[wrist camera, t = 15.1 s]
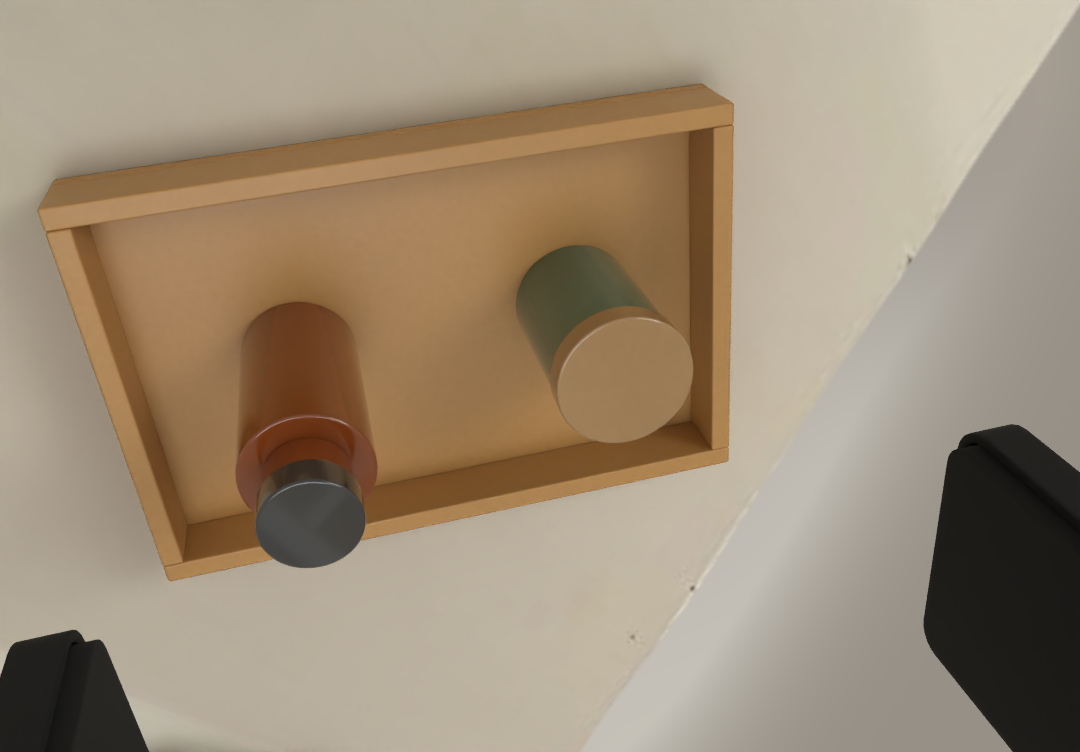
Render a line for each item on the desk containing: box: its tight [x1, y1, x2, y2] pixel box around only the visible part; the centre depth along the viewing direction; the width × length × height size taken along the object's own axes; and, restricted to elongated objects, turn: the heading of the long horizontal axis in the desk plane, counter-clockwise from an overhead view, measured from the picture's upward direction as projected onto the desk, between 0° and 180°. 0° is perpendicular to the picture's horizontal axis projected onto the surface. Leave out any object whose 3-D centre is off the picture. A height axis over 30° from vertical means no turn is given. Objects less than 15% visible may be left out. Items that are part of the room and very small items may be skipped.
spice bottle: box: [235, 302, 378, 568], centre depth 34 cm, size 4×4×11 cm
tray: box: [38, 84, 734, 581], centre depth 39 cm, size 16×24×3 cm, turn 95°
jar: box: [516, 245, 693, 443], centre depth 38 cm, size 5×5×7 cm
